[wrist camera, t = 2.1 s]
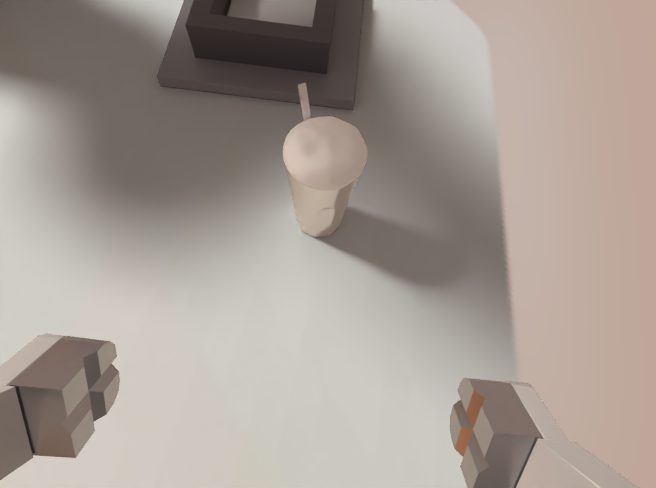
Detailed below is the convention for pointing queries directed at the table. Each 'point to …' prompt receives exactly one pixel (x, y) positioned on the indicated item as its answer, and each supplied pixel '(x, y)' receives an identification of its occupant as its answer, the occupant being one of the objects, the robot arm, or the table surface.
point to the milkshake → (322, 168)
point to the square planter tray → (267, 49)
